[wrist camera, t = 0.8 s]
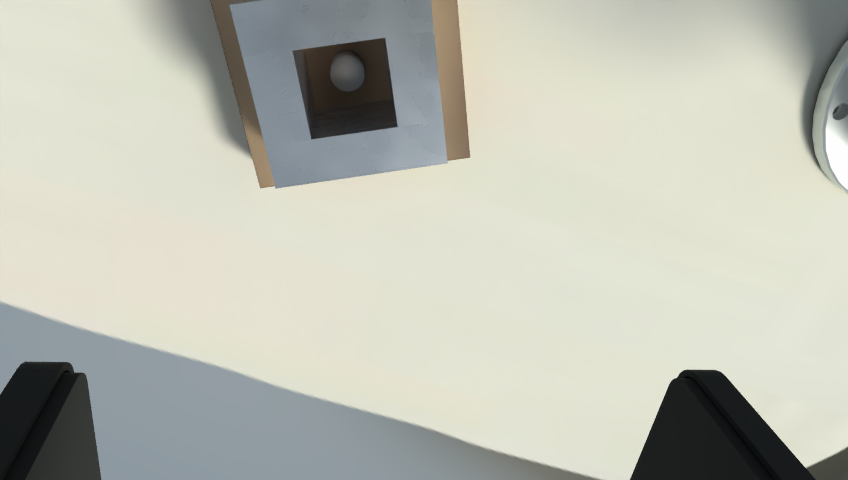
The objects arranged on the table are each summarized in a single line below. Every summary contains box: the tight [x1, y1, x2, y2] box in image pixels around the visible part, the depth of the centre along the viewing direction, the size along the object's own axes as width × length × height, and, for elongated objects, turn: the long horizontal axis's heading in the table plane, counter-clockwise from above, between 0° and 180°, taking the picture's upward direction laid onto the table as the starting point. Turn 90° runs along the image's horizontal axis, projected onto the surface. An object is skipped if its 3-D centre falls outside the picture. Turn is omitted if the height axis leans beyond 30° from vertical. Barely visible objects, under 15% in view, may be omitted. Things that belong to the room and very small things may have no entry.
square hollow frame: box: [230, 0, 448, 188], centre depth 25 cm, size 7×7×4 cm
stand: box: [210, 0, 470, 188], centre depth 27 cm, size 10×10×4 cm
